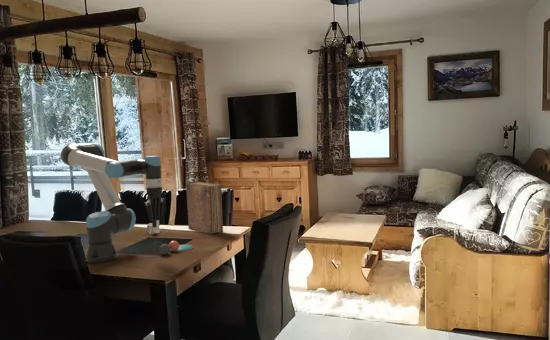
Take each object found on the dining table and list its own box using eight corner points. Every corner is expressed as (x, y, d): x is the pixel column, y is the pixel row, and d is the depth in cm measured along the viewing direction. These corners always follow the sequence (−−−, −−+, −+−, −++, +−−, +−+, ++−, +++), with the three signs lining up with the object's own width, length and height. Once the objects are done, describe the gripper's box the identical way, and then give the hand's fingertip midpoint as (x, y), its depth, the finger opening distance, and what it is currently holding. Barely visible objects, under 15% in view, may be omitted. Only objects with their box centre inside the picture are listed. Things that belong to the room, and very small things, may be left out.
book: (223, 232, 277) (221, 184, 274) (210, 235, 271) (208, 185, 268) (200, 226, 296) (198, 181, 292) (188, 228, 289) (185, 182, 286)
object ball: (171, 249, 234) (173, 239, 236) (165, 249, 238) (168, 239, 240) (179, 252, 237) (182, 241, 239) (174, 252, 241) (176, 242, 243)
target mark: (183, 252, 235) (183, 252, 235) (163, 250, 241) (163, 249, 241) (198, 246, 247) (198, 245, 247) (179, 244, 253) (179, 243, 253)
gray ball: (166, 240, 233) (172, 246, 236) (157, 244, 234) (164, 250, 237) (165, 247, 228) (172, 253, 232) (156, 252, 229) (163, 258, 233)
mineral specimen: (162, 234, 278) (162, 224, 277) (151, 235, 274) (150, 225, 273) (156, 230, 288) (155, 220, 288) (145, 232, 285) (144, 222, 284)
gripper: (150, 189, 217) (153, 236, 219) (168, 185, 228) (170, 230, 231) (139, 188, 220) (141, 235, 223) (157, 184, 232) (159, 229, 234)
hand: (156, 232), depth 227 cm, fingers closed
